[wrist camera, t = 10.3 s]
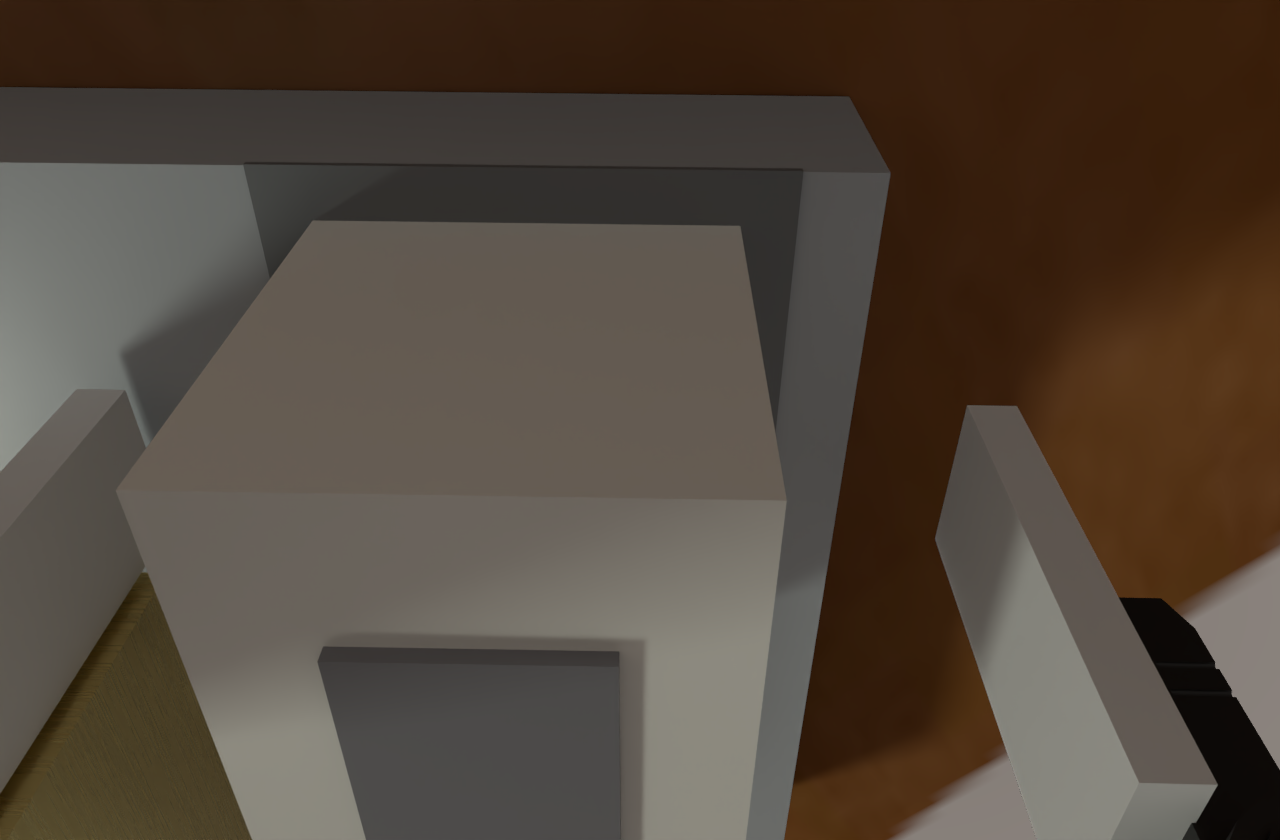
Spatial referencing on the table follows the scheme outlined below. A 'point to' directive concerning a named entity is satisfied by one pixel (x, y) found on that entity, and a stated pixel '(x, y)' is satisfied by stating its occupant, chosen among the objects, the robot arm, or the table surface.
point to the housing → (438, 192)
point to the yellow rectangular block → (125, 747)
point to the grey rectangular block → (478, 534)
